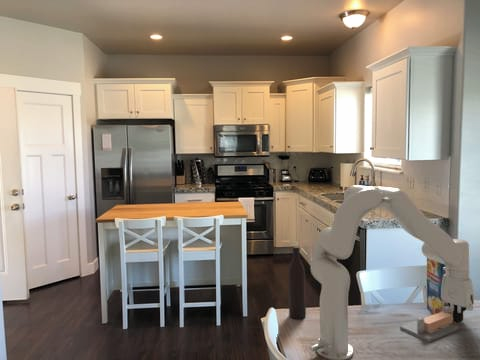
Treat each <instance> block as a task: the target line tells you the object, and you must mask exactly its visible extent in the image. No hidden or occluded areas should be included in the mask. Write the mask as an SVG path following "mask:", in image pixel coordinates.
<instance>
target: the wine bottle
mask: <svg viewBox="0 0 480 360" xmlns="http://www.w3.org/2000/svg"><path fill="white" fill-rule="evenodd" d="M287 271H288V273H287V275H288V277H287V278H288V315H289V317H290V318H291V319H295V320H303V319H304V318H306V315H307V309H306V306H307V305H306V299H307V298H306V271H305V265H304V264H303V262H302V260H301V258H300V246H293V247H292V259H291V261H290V263H289V266H288V269H287Z"/></svg>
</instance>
